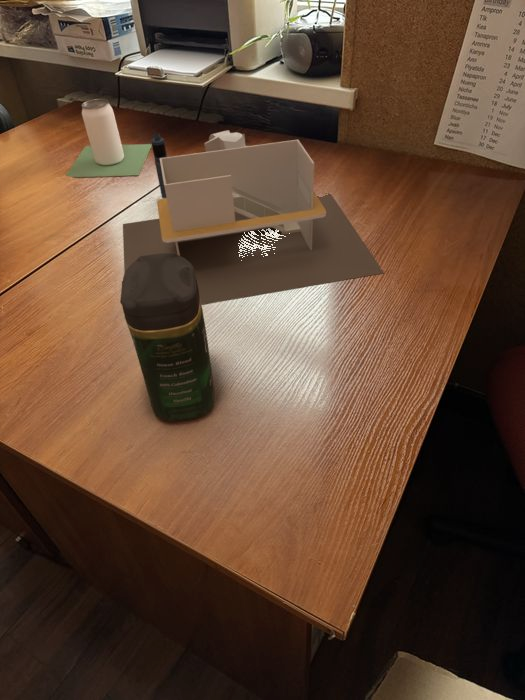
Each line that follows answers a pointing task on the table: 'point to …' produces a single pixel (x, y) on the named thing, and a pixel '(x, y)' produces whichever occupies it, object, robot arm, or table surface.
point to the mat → (126, 167)
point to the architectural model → (250, 223)
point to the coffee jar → (169, 335)
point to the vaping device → (159, 153)
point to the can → (102, 132)
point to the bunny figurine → (225, 141)
